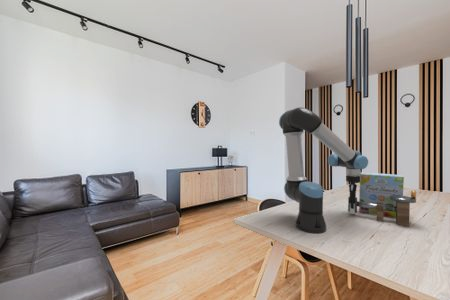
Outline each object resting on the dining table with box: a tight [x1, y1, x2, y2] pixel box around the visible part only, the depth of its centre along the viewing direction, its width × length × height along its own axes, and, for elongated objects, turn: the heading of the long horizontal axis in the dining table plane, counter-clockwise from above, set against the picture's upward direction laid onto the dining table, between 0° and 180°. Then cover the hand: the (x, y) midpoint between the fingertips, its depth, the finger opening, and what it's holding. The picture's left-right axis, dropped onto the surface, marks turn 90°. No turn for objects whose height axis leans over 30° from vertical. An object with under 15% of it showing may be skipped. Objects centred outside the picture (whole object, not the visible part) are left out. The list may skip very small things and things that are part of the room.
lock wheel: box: [390, 190, 417, 204], centre depth 114 cm, size 11×11×6 cm
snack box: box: [358, 171, 405, 219], centre depth 129 cm, size 22×9×26 cm, turn 59°
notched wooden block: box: [376, 201, 411, 228], centre depth 117 cm, size 9×14×13 cm, turn 53°
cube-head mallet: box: [347, 196, 397, 214], centre depth 123 cm, size 4×24×9 cm, turn 54°
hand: (352, 212), depth 128 cm, fingers closed on cube-head mallet, 4 cm apart
